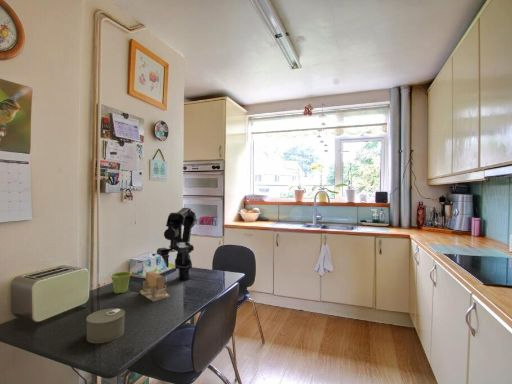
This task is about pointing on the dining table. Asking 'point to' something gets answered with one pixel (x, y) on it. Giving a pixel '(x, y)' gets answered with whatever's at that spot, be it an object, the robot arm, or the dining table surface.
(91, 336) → the can
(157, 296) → the tan piece
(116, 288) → the plant pot
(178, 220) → the robot arm
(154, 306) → the dining table surface
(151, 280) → the orange tan rectangular block
